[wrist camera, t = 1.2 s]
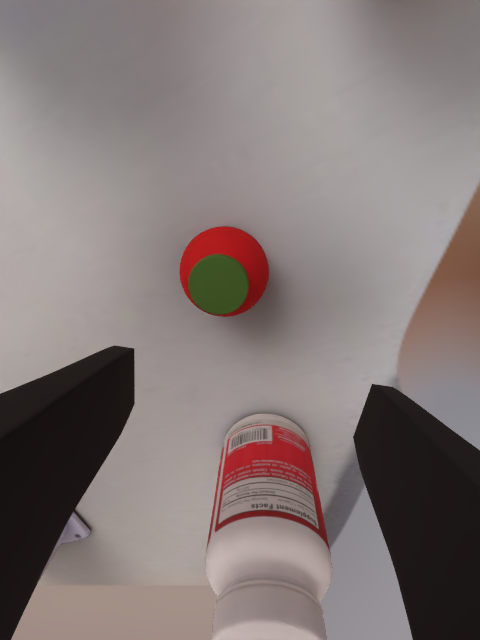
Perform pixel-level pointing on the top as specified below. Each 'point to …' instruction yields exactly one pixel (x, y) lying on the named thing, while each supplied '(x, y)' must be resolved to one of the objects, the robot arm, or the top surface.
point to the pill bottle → (267, 536)
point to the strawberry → (224, 271)
